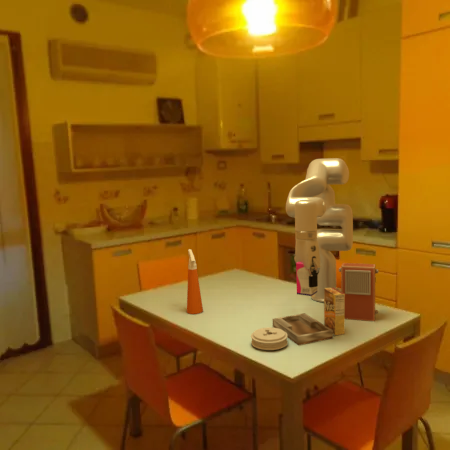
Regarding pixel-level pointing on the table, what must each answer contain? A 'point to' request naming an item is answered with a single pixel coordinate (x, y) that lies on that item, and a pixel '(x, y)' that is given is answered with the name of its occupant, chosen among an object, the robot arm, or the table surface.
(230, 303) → the table surface
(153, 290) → the table surface
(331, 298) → the candy box
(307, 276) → the supplement box
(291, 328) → the shallow rectangular tray
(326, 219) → the robot arm
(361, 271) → the red speaker
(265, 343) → the lid
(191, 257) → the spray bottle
